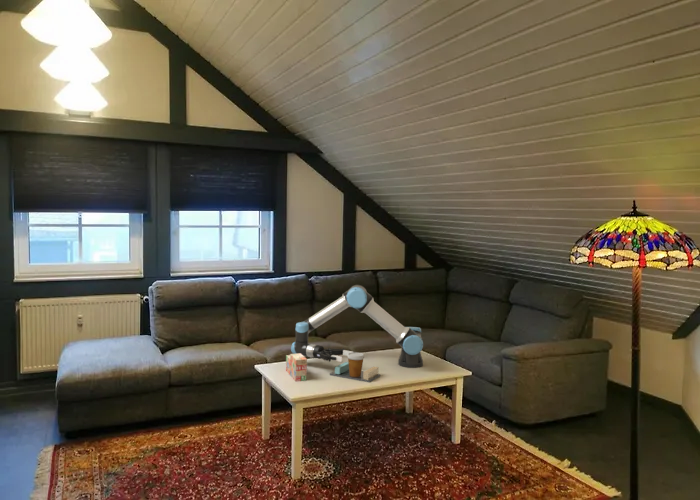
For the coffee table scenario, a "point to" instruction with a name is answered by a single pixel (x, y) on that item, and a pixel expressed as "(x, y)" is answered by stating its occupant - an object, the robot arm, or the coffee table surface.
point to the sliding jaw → (342, 368)
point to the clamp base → (365, 376)
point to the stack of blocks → (296, 366)
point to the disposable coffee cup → (355, 363)
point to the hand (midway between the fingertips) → (347, 356)
